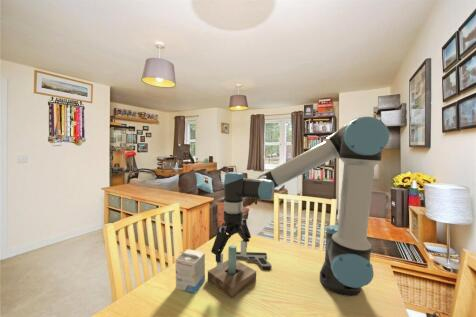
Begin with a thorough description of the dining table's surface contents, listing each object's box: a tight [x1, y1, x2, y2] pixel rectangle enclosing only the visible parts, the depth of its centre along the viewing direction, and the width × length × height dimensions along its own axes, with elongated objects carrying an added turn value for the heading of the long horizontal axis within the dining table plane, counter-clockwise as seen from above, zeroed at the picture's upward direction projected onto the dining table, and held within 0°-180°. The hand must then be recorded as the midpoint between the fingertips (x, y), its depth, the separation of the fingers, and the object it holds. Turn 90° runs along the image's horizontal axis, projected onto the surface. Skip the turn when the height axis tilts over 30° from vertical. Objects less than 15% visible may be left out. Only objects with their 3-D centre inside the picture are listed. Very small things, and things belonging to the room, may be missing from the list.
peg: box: [227, 244, 237, 276], centre depth 83 cm, size 3×3×14 cm
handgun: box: [236, 251, 273, 271], centre depth 97 cm, size 2×17×12 cm
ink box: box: [174, 248, 206, 294], centre depth 80 cm, size 9×8×13 cm
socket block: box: [207, 259, 257, 299], centre depth 83 cm, size 14×14×4 cm
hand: (232, 262), depth 83 cm, fingers open, 13 cm apart
